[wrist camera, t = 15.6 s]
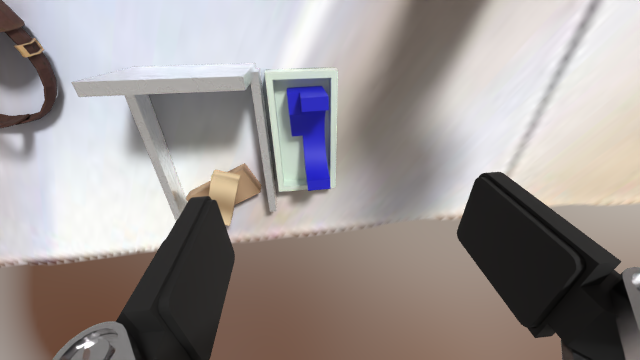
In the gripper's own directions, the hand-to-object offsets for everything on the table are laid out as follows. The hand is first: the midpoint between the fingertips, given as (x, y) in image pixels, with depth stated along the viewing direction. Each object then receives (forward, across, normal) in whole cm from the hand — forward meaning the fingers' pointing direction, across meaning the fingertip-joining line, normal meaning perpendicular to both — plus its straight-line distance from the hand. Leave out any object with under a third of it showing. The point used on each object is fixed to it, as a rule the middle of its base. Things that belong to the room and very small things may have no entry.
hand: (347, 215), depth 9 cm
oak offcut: (+24, +14, +15) cm, 32 cm away
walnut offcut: (+27, +14, +16) cm, 34 cm away
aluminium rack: (+26, +14, +8) cm, 31 cm away
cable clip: (+26, +1, +7) cm, 27 cm away
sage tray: (+27, +2, +7) cm, 28 cm away
